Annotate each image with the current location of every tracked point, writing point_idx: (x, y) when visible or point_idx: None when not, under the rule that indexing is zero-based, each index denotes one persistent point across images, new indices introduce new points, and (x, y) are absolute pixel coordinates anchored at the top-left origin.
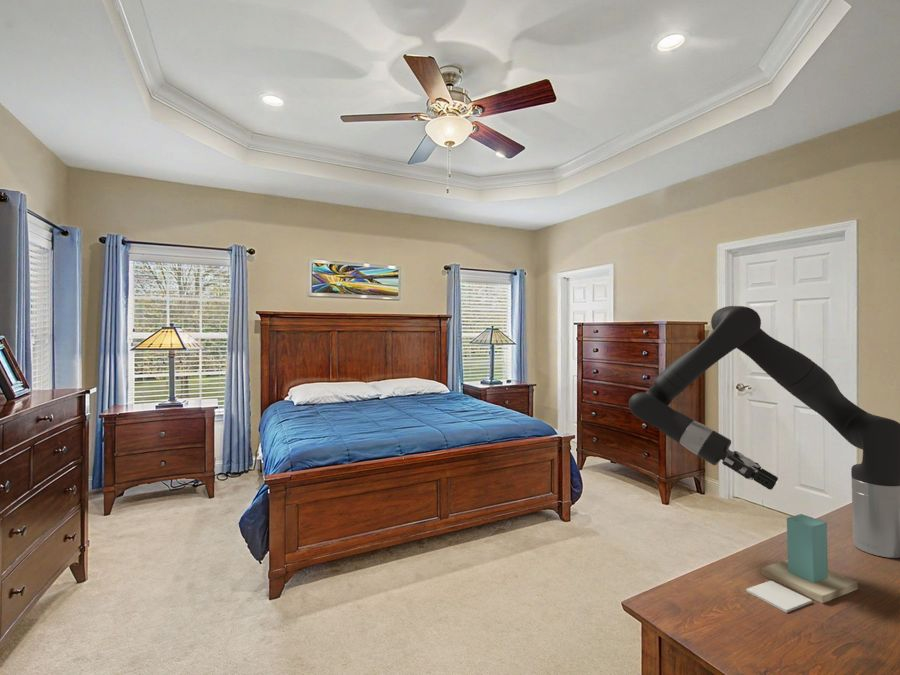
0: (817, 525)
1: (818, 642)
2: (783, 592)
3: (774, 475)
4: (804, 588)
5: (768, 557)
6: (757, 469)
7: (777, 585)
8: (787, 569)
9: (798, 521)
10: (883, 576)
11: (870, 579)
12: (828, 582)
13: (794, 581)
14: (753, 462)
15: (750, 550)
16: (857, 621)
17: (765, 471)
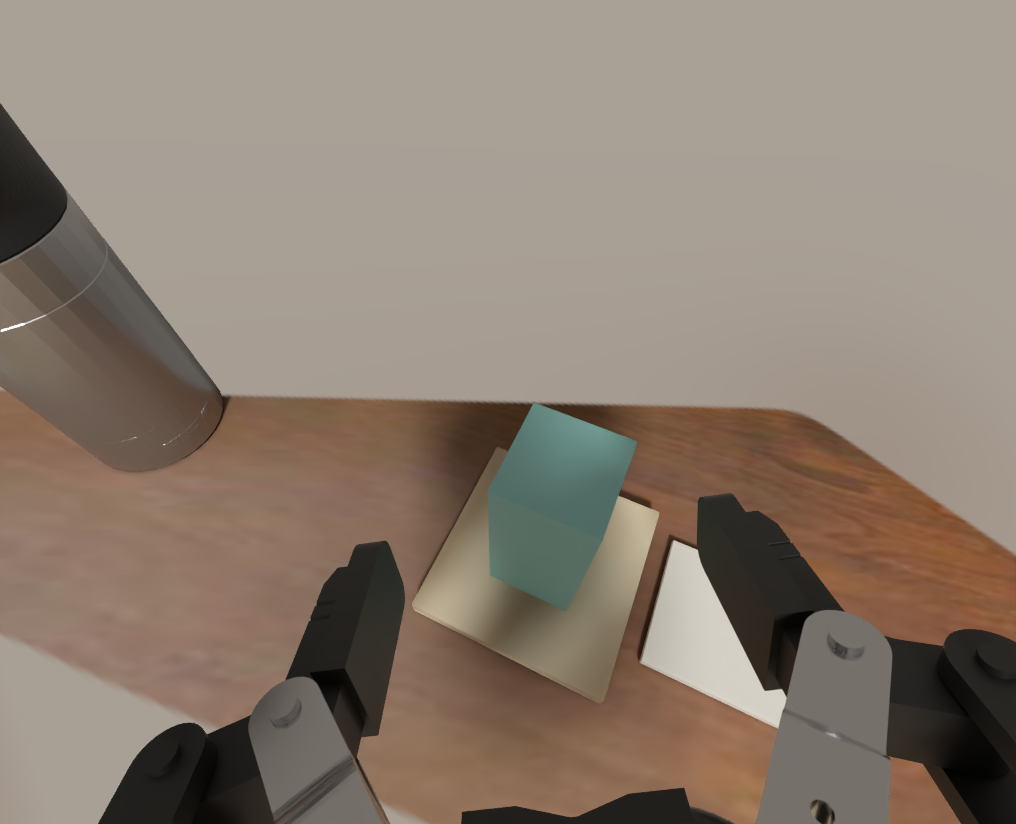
0: (598, 427)
1: (851, 517)
2: (695, 612)
3: (359, 562)
4: (645, 556)
5: (413, 709)
6: (339, 726)
7: (661, 635)
8: (548, 615)
9: (613, 490)
10: (363, 413)
11: (403, 435)
12: None
13: (625, 585)
14: (359, 773)
15: (379, 798)
16: (671, 456)
17: (362, 632)
